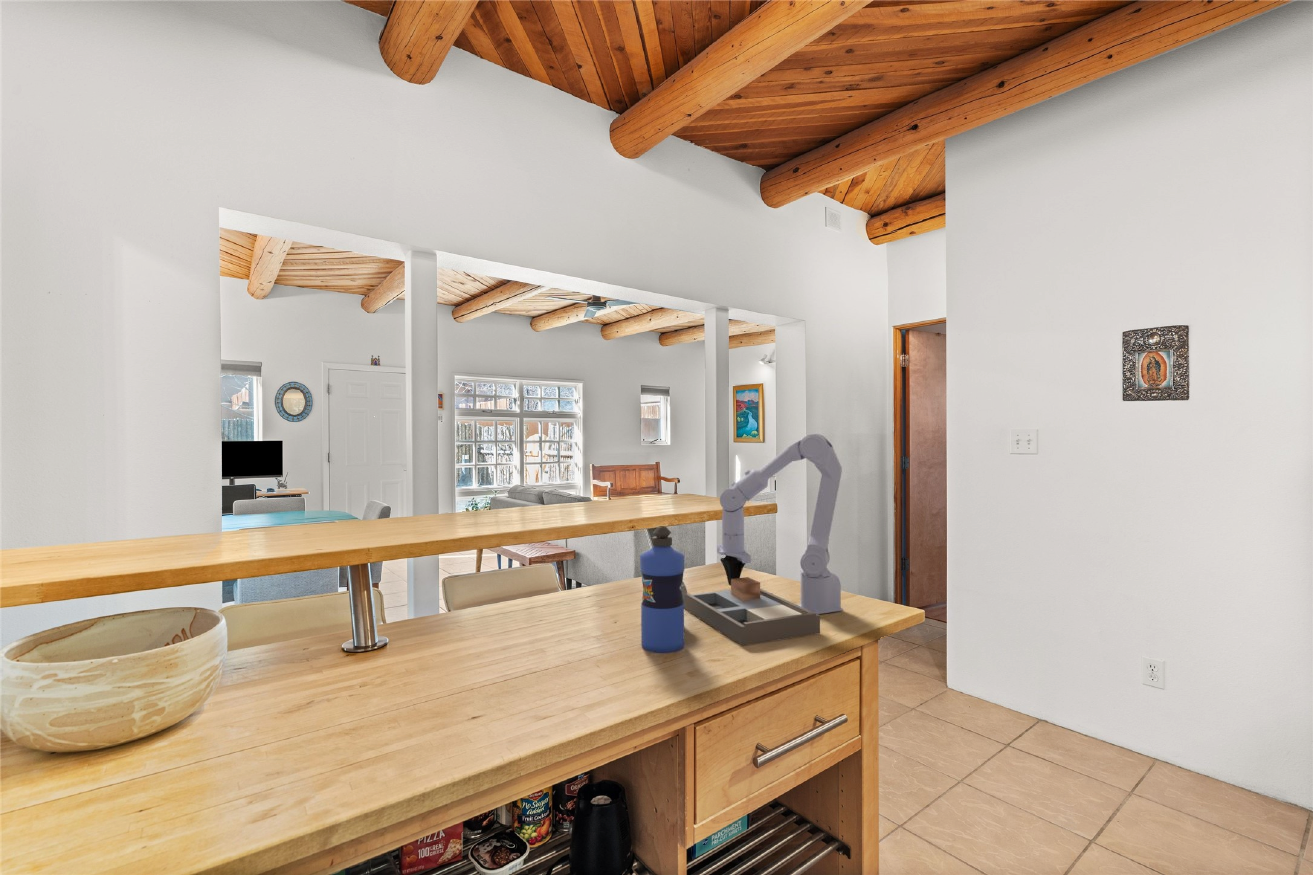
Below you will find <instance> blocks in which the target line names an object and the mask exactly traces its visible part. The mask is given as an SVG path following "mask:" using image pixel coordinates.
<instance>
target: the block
mask: <svg viewBox="0 0 1313 875" xmlns="http://www.w3.org/2000/svg"><path fill="white" fill-rule="evenodd" d="M760 589H761V582H760V581H758V580H755V579H753V578H751V577H749V576H746V577H745V576H744V577H740V578H735V579H731V586H730V590H731V595H733V596H735V597H737V598H739V599H741V600H751V599H759V598H760Z"/></svg>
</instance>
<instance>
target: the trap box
mask: <svg viewBox="0 0 1313 875" xmlns="http://www.w3.org/2000/svg"><path fill="white" fill-rule="evenodd" d="M684 610H686V611H687V612H688V613H691V614H692V615H694V616H695V617H696V618H698V619H700V620H701V621H702V622H704V623H705V624H707V625H708V626H710V627H712V628H714V629H715V630H717V631H718V632H719V633H721V634H723V635H724V636H726V637H727V638H729V639H730V640H732V641H733V642H735V643H736V644H738V645H740V646H741V647H745V646H750V645H755V644H763V643H768V642H774V641H780V640H787V639H792V638H793V639H794V638H801V637H806V636H812V635H818V634H819V635H820V634H821V614H816V613H814V612H811V611H809V610H807V609H805V608H803V607H800V606H798V605H796V603H794V602H791V601H789V600H787V599H785V598H782V597H780V596H778V595H776V594H773V593H772V592H769V591H767V590H764V589H763V588H760V598H759V599H751V600H741V599H739V598H737V597H735V596H733V595H731V589H726V590H720V591H719V590H718V591H717V590H716V591H711V592H710V591H708V592H702V593H695V594H694V593H693V594H691V593H689V592H688V591H687V594H686V595H685V596H684Z"/></svg>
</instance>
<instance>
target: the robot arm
mask: <svg viewBox="0 0 1313 875" xmlns="http://www.w3.org/2000/svg"><path fill="white" fill-rule="evenodd" d="M838 458H839V457H838V455H837V453H836V451H835V449H834V446H833V444H832V443H831V442H830V441H829V440H828V439H827V438H826V437H825V436H824V435H822V434H819V433H812V434H807V435H805V436H803V438H802V439H800V440H798V441H796V442H793V443H792V444H791V445H789V446H788V447H786V448H785V449H784V450H783V451H781V452H780V453H779V454H778V455H777V456H775V458H773V459H772V460H770V462H768V463H767V464H766V465H764V467H762V468H761V469H756V468H754V469H753V468H752V469H751V470H750V469H748V470H747V471H746V472H744V476H743V477H742V478H740V479H739V480H738V481H736V482H733V483H731V484H730V485H731V487H730V488H727V489H724V491H723V492H722V493H721V495H720V496H719V504H720V506H721V508H722V514H721V515H722V516H721V520H722V521H721V528H722V529H721V534H722V539H721V545H717V547H716V552H717V554H719V555H723V556H724V557H720V559H719V560H720V562H721V565H722V566H723V568H724V570H725V573H726V579H727V583H728V586H730V587H731V579H735V578H741V575H742V571H743V569H744V566H745V565H746V564H749V563H750V564H751V559H752V557H751V555H750V554H749V553H748V552H747V551H746V550H745V516H744V506H745V505H746V503H747V502H749V501H750V500H752V499H753V498H755V497H756V496H758V495H759V494H760V493H761V492H762V491H764V490H765V489H766V488H768V484H769V479H771V478H772V477H773V476H775V475H776V474H777V473H779V472H780V471H782V470H783V469H784V468H786V467H787V466H789V464H791V463H792V462H798V461H801V460H805V459H806V460H807V461H809V462H811V464H813V465H814V467H816V468H817V470H818V471H819V472H820V474H821V476H820V477H821V478H820V482H819V488H818V492H817V493H818V494H817V497H816V498H817V499H816V503H815V508H814V509H815V510H814V513H813V520H812V525H811V528H810V529H811V530H810V534H809V538H808V543H807V546H806V550H805V552H804V553H803V555H802V556H801V557H800V562H799V563H800V568H801V570H800V603H797V604H796V603H795V604H796V605H798V606H800V607H803V608H805V609H807V610H809V611H811V612H814V613H816V614H818V615H822V614H829V613H836V612H842V611H844V609H843V607H842V605H841V604H842V602H841V601H842V599H841V598H842V596H841V595H842V594H841V593H842V590H841V588H842V586H841V581H840V578H839V576H838V575H837V574H836V573H834V572H831V571H829V569H828V568H827V566H828V565H829V562H830V558H831V557H830V552H829V544H830V543H829V542H830V535H831V534H830V533H831V530H832V529H831V528H832V526H833V525H832V524H833V519H834V515H835V514H834V513H835V508H836V505H837V504H836V503H837V498H838V494H839V488H840V483H841V478H842V473H843V467H842V465H841V462H840V460H839V459H838Z"/></svg>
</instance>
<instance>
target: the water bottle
mask: <svg viewBox="0 0 1313 875" xmlns="http://www.w3.org/2000/svg"><path fill="white" fill-rule="evenodd" d="M652 533H653V535H654V536H653V537H651V541H652V542H651V545H652V547H651V549H649V550H647V551H645V552H644V553H641V554H640V555H639V562H640V563H639V568H640V569H639V570H640V571H639V572H640V573H641V574H640V575H641V581H642V582H641V583H642V597H641V605H640V610H641V611H640V613H641V615H640V618H641V619H640V627H641V628H640V630H641V631H640V632H641V638H640V639H641V640H640V642H641V648H642V649H644V650H645V651H647V652H650V653H655V654H667V653H675V652H678V651H681V650H682V649H684V647H685V609H684V603H683V596H682V582H684V581H683V579H684V572H685V554H684V553H681V552H680V551H677V550H675V549H674V548H673V547H672V546H673V537H672V536H670V535H671V534H672V531H670V529H669V528H668V527H667V526H657V527H656V528H655V529H654V531H653V532H652Z"/></svg>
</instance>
